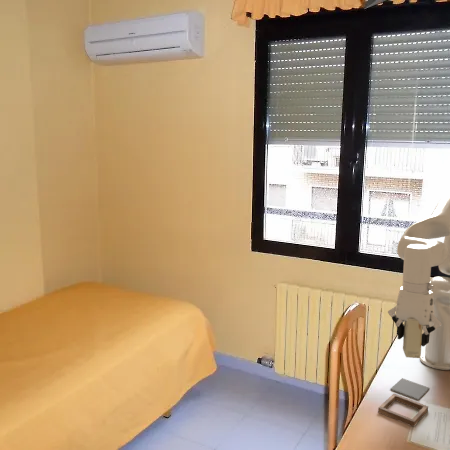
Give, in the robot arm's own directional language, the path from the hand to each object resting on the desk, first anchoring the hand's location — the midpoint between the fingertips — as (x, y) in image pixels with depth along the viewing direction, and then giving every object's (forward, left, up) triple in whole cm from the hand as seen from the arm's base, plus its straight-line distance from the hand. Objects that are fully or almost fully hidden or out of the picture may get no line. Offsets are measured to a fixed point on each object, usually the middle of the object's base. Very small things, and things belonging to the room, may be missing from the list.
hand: (412, 340), depth 146 cm
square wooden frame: (+9, +2, -19) cm, 21 cm away
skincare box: (0, 0, -4) cm, 4 cm away
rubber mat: (-5, -1, -19) cm, 20 cm away
